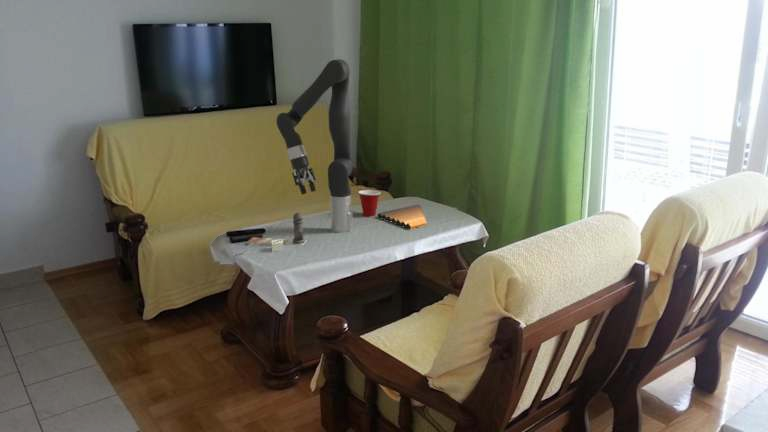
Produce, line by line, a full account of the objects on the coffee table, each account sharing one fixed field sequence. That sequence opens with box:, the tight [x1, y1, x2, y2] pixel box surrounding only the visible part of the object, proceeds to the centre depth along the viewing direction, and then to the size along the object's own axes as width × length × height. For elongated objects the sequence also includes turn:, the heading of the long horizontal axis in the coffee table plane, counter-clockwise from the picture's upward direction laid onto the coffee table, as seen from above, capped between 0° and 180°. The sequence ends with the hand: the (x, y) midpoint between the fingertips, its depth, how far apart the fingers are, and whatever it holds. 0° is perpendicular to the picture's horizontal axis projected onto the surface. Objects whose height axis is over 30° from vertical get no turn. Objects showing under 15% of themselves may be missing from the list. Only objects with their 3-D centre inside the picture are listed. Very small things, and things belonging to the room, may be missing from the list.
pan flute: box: [377, 204, 428, 230], centre depth 296 cm, size 25×3×25 cm
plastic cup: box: [358, 189, 381, 217], centre depth 300 cm, size 11×11×12 cm
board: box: [245, 236, 308, 246], centre depth 261 cm, size 26×8×1 cm, turn 81°
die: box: [271, 238, 284, 252], centre depth 251 cm, size 4×4×5 cm
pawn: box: [292, 212, 306, 245], centre depth 258 cm, size 5×5×13 cm
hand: (309, 192), depth 269 cm, fingers open, 8 cm apart
